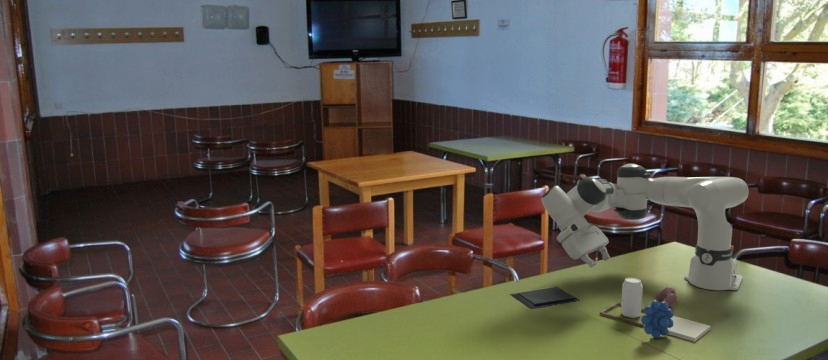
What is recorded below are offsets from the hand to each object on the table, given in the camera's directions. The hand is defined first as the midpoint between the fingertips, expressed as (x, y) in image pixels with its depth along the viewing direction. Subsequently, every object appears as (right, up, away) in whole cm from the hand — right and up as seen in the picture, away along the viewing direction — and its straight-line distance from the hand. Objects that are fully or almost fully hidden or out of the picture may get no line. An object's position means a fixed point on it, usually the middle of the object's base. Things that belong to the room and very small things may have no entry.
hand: (600, 262), depth 227 cm
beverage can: (+8, -17, -4) cm, 19 cm away
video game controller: (+23, -15, +5) cm, 28 cm away
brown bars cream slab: (+14, -17, -9) cm, 24 cm away
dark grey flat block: (-16, -14, +12) cm, 24 cm away
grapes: (+11, -20, -22) cm, 32 cm away
